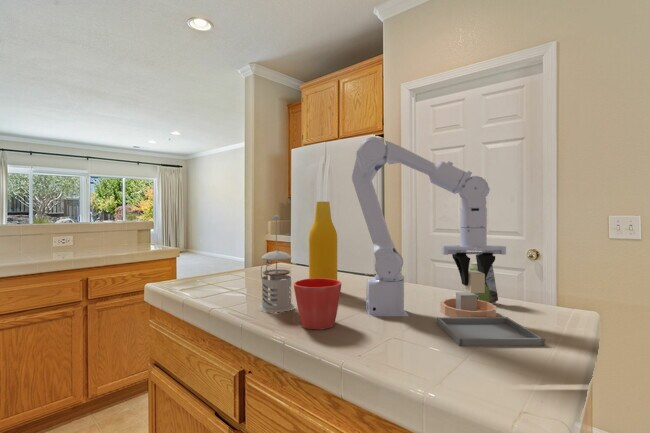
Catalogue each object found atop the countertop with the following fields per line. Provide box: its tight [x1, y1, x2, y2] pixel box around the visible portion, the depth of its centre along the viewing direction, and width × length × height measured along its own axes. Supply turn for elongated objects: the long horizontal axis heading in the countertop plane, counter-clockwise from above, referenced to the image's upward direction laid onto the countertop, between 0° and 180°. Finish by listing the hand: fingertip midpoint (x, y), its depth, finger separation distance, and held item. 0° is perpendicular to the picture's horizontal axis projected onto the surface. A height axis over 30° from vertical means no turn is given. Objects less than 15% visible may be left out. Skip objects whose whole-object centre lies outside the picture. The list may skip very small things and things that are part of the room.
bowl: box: [439, 297, 497, 317], centre depth 83 cm, size 12×12×3 cm
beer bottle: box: [308, 201, 338, 280], centre depth 108 cm, size 9×9×29 cm
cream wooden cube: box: [463, 270, 485, 293], centre depth 79 cm, size 4×3×4 cm
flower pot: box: [293, 278, 342, 330], centre depth 77 cm, size 11×11×10 cm
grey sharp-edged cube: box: [455, 291, 477, 311], centre depth 85 cm, size 4×3×4 cm
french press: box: [258, 214, 295, 314], centre depth 91 cm, size 10×12×25 cm
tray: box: [436, 316, 546, 347], centre depth 70 cm, size 16×13×2 cm
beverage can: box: [469, 260, 499, 305], centre depth 94 cm, size 6×7×12 cm
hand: (473, 284), depth 80 cm, fingers closed on cream wooden cube, 3 cm apart
